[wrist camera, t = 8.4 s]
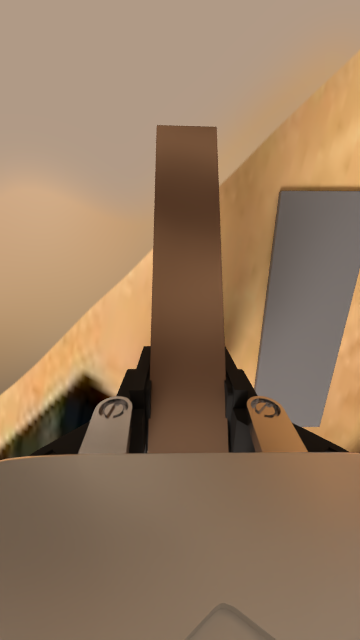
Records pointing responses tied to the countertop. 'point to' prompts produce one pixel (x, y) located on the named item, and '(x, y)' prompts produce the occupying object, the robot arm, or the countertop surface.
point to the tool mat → (308, 299)
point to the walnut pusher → (187, 297)
